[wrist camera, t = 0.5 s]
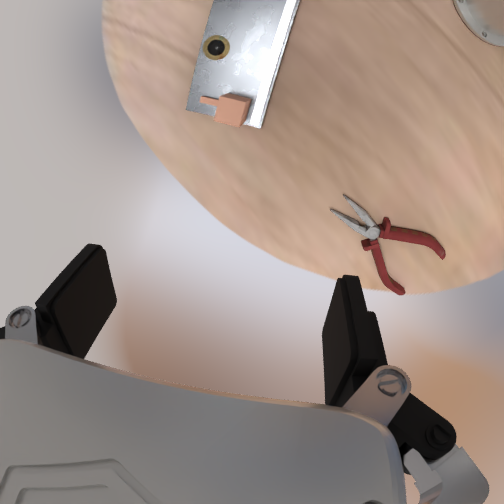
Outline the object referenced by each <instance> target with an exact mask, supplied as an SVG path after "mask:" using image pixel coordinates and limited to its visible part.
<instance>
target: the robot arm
mask: <svg viewBox="0 0 504 504" xmlns="http://www.w3.org/2000/svg"><path fill="white" fill-rule="evenodd" d="M453 2H454V5H455V7H456V9H457V11H458V14H459V15H460V17H461V18H462V20H463V22H464V23H465V24H466V25H467V27H468V28H469V29H470V30H471V31H472V32H473V33H474V34H475V35H476V36H478V37H479V38H480V39H481V40H483V41H485V42H487V43H489V44H492V45H494V46H504V0H459V1H458V0H453ZM116 303H117V298H116V294H115V290H114V286H113V282H112V278H111V273H110V269H109V265H108V260H107V255H106V251H105V250H104V249H103V247H102V246H101V245H96V244H87V245H86V246H85V247H84V248H83V249H82V250H81V252H80V253H79V254H78V255H77V256H76V257H75V258H74V259H73V260H72V261H71V262H70V263H69V265H67V267H66V268H65V269H64V270H63V271H62V272H61V273H60V274H59V276H58V277H57V278H56V279H55V280H54V281H53V282H52V283H51V285H50V286H49V287H48V288H47V289H46V291H45V292H44V293H43V294H42V295H41V296H40V298H39V299H38V300H37V301H36V302H35V304H36V307H37V308H36V309H35V310H34V309H33V308H32V307H29V306H21V307H18V308H16V309H15V310H13V311H12V312H11V313H10V314H9V315H8V317H7V318H6V323H5V327H2V328H0V504H407V503H406V489H405V478H404V473H406V474H409V475H412V476H413V478H414V479H415V481H416V482H415V483H414V484H415V485H416V487H417V488H418V490H419V493H420V501H419V504H483V502H484V501H485V500H486V498H487V496H488V494H489V484H488V482H487V480H486V478H485V477H484V476H483V474H482V473H481V471H480V470H479V469H478V467H477V466H476V465H475V463H474V462H473V461H472V459H471V458H470V457H469V455H468V454H467V453H466V451H465V450H464V449H463V447H461V448H458V446H457V445H456V444H455V443H456V432H455V429H454V427H453V426H452V425H451V424H450V423H449V422H448V421H447V420H446V419H444V418H443V417H442V416H440V415H439V414H438V413H436V412H435V411H434V410H432V409H431V408H430V407H428V406H427V405H426V404H424V403H423V402H422V401H420V400H419V399H418V398H416V397H415V396H414V395H412V394H411V393H410V391H411V381H410V378H409V377H408V375H407V374H406V373H405V372H404V371H403V370H402V369H400V368H398V367H396V366H391V365H388V364H387V359H386V355H385V350H384V346H383V342H382V338H381V334H380V330H379V326H378V321H377V317H376V314H375V313H374V312H371V311H367V307H366V303H365V299H364V295H363V291H362V287H361V283H360V280H359V277H358V276H352V275H343V277H342V278H338V279H337V282H336V286H335V289H334V293H333V296H332V300H331V303H330V307H329V310H328V313H327V317H326V320H325V323H324V327H323V331H322V341H323V342H322V343H323V361H324V381H325V405H324V404H316V403H308V402H299V401H289V400H280V399H272V398H264V397H256V396H248V395H241V394H234V393H227V392H221V391H215V390H209V389H203V388H198V387H193V386H188V385H183V384H177V383H173V382H168V381H164V380H159V379H155V378H151V377H146V376H142V375H138V374H134V373H131V372H127V371H123V370H119V369H116V368H111V367H108V366H105V365H101V364H98V363H94V362H91V361H88V360H84V358H85V356H86V354H87V353H88V351H89V349H90V347H91V346H92V344H93V342H94V341H95V339H96V337H97V336H98V334H99V332H100V331H101V329H102V327H103V326H104V324H105V322H106V320H107V319H108V318H109V316H110V314H111V313H112V311H113V309H114V308H115V306H116Z"/></svg>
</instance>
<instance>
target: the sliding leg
mask: <svg viewBox="0 0 504 504" xmlns="http://www.w3.org/2000/svg"><path fill="white" fill-rule="evenodd" d="M251 100H252V99H250V98H246V97H243V96H239V95H235V94H230V93H227V94H224V95H221V96H220V97H219V100H218V99H214V98H209V97H205V96H201V98H200V103H205V104H209V105H213V106H217V109H216V113H215V117H214V121H216V122H220V123H224V124H228V125H232V126H236V127H240V126H241V125H242V124H243V123H244V122H245V121H246V118H247V114H248V110H249V107H250V103H251Z"/></svg>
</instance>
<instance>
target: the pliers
mask: <svg viewBox="0 0 504 504" xmlns="http://www.w3.org/2000/svg"><path fill="white" fill-rule="evenodd" d="M343 196H344V197H345V199H346V200H347V201H348V202H349V204H350V205H351V206H352V207H353V209H354V210H355V211H356V213H357V214H358V215H359V216H360V218H361V219H362V220H363V221H364V222H365V223H366V225H365V226H363V227H361V226H359V223H358V221H357V220H355V219H353V218H351V217H348V216H346V215H344V214H342V213H339V212H337V211H335V210H332V209H330V211H332V212H333V213H334V214H335V215H336V216H338V217H339V218H340V219H341V220H342V221H343V222H345V223H346V224H347V225H348V226H349V227H350V228H352V229H353V230H355V231H356V232H358V233H360V234H361V235H363V236H365V237H367V238H368V239H365V240H362V241H361V243H362V246H363V249H364V250H365V251H368V250H371V251H372V254H373V257H374V260H375V263H376V267H377V270H378V273H379V276H380V278H381V280H382V282H383V284H384V285H385V286H386V287H387V288H389V289H390V290H392V291H393V292H395V293H396V294H398V295H404V294H405V290H404V288H403V287H402V286H401V285H400V284H398V283H397V282H396V281H394V280H393V279H392V278H391V277H390V276H389V275H388V273H387V271H386V267H385V264H384V260H383V257H382V253H381V250H380V247H379V243H378V240H377V237H378V236H379V238H383V239H391V240H397V241H403V242H409V243H415V244H421V245H425V246H427V247H430V248H431V249H433V250H434V251H435V252H436V253H437V255H438V256H439V257H440V258H441V259H442V260H443V259H444V258H445V255H446V254H445V250H444V248H443V247H442V246H441V245H440V244H439V243H438V241H437V240H436V239H435V238H434V237H432V236H431V235H429V234H426V233H423V232H419V231H414V230H409V229H403V228H398V227H392V226H391V223H390V220H389V218H386V217H384V219H383V223H382V224H379V225H378V226H377V224H376V223H375V222H374V221H373V219H372V218H371V217H370V216H369V214H368V213H367V212H366V211H365V210H364V209H362V208H361V207H360V206H358V205H357V204H356V203H354V202H353V201H352V200H350V199H349V198H348V197H346V196H345V195H344V194H343ZM370 240H371V241H370Z"/></svg>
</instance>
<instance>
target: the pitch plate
mask: <svg viewBox="0 0 504 504" xmlns="http://www.w3.org/2000/svg"><path fill="white" fill-rule="evenodd" d="M299 3H300V0H214V2H213V5H212V8H211V11H210V15H209V18H208V22H207V25H206V29H205V32H204V36H203V40H202V44H201V47H200V51H199V55H198V59H197V63H196V67H195V71H194V76H193V80H192V84H191V88H190V93H189V97H188V102H187V107H186V110H189V111H193V112H198V113H202V114H206V115H211V116H215V113H216V109H217V106H213V105H209V104H205V103H200V98H201V96H205V97H209V98H214V99H218V100H219V97H220V96H221V95H224V94H227V93H230V94H235V95H239V96H243V97H246V98H250V99H252V100H251V103H250V107H249V110H248V114H247V118H246V121H245V122H244V123H243V124H246V125H249V126H253V127H256V128H261V127H262V124H263V120H264V117H265V113H266V110H267V107H268V103H269V100H270V97H271V93H272V90H273V87H274V83H275V80H276V77H277V73H278V70H279V67H280V64H281V60H282V57H283V54H284V51H285V47H286V44H287V41H288V38H289V35H290V31H291V28H292V25H293V22H294V19H295V16H296V13H297V10H298V6H299Z"/></svg>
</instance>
